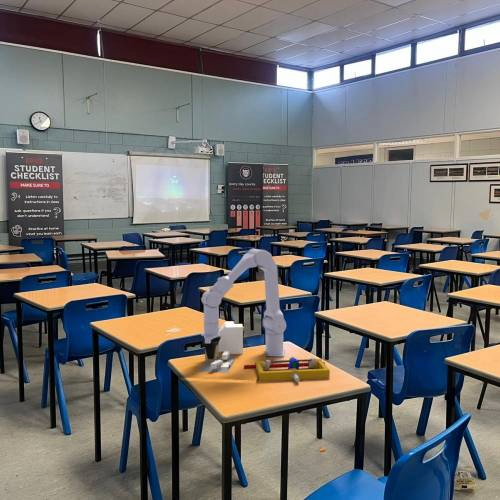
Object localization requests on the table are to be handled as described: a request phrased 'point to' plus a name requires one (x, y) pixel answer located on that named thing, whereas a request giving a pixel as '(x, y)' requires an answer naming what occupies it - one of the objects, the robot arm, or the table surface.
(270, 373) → the mechanical clamp
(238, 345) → the corner bracket
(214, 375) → the table surface
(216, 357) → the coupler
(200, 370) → the shaft stand
